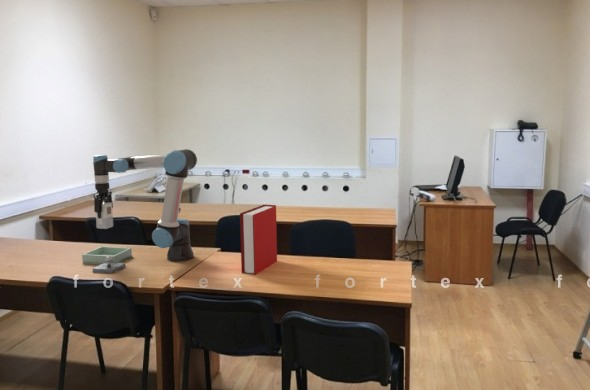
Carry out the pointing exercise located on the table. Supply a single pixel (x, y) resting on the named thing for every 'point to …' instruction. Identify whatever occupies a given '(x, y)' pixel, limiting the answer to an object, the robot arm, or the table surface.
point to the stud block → (108, 266)
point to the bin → (102, 252)
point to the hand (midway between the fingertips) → (104, 222)
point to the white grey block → (106, 216)
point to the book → (258, 238)
